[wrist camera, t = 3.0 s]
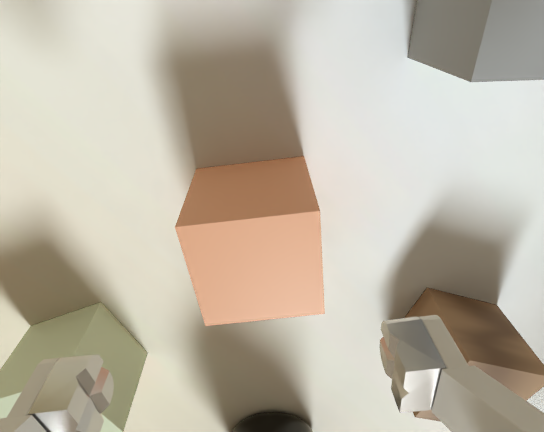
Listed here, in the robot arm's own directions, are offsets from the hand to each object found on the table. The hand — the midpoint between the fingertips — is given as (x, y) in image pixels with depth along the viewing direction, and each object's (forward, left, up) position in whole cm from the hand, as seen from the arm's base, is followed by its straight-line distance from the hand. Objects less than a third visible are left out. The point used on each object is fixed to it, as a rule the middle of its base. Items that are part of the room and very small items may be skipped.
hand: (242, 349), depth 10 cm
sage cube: (+10, +10, -9) cm, 16 cm away
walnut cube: (-12, +8, -9) cm, 17 cm away
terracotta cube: (0, 0, -9) cm, 9 cm away
